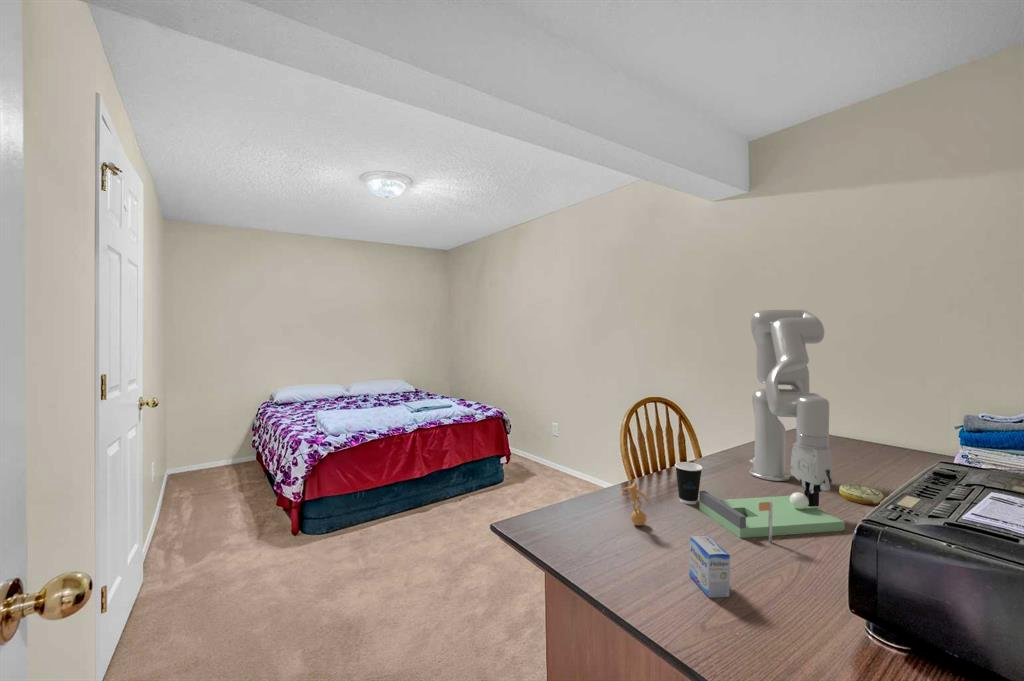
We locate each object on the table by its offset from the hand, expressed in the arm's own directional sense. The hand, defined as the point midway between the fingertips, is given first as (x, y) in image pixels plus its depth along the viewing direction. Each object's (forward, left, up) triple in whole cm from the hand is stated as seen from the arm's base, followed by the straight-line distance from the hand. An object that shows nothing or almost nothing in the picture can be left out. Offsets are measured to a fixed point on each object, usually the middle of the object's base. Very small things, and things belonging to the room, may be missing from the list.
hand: (811, 505), depth 122 cm
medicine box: (+27, -48, -4) cm, 56 cm away
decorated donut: (-9, +26, -4) cm, 27 cm away
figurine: (-1, -51, -3) cm, 52 cm away
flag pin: (+12, -24, -3) cm, 27 cm away
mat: (0, -13, -3) cm, 14 cm away
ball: (0, -4, +2) cm, 4 cm away
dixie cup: (-15, -28, -3) cm, 32 cm away
